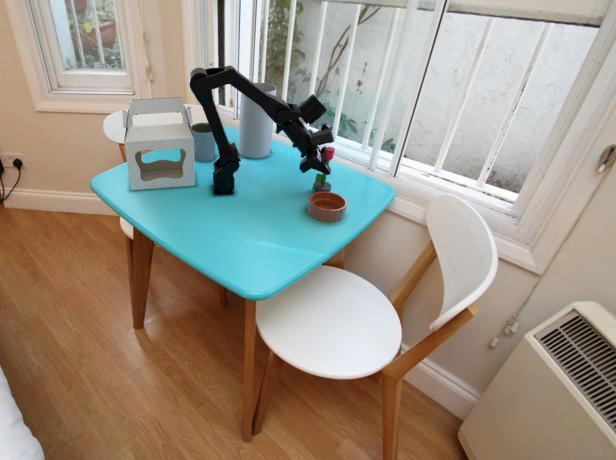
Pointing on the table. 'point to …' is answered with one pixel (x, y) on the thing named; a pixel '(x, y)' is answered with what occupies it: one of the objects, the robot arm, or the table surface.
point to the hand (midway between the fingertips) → (329, 173)
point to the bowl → (326, 206)
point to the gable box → (159, 145)
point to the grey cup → (203, 142)
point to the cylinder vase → (255, 126)
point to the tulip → (320, 178)
